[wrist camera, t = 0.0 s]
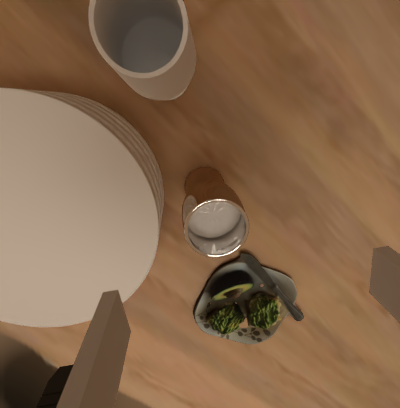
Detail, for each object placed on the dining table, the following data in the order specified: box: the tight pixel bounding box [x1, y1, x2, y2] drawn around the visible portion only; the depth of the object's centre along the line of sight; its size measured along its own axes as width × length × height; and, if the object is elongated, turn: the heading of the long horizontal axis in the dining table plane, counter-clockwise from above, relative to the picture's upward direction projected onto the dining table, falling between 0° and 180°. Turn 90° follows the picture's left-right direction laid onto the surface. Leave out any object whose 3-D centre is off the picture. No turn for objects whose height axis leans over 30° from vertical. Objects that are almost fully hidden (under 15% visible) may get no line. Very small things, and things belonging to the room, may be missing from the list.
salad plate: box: [193, 253, 304, 344], centre depth 48 cm, size 19×18×5 cm
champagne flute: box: [88, 0, 196, 100], centre depth 24 cm, size 7×7×24 cm
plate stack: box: [0, 88, 164, 327], centre depth 35 cm, size 28×28×12 cm
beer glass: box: [182, 167, 249, 258], centre depth 34 cm, size 7×7×15 cm
